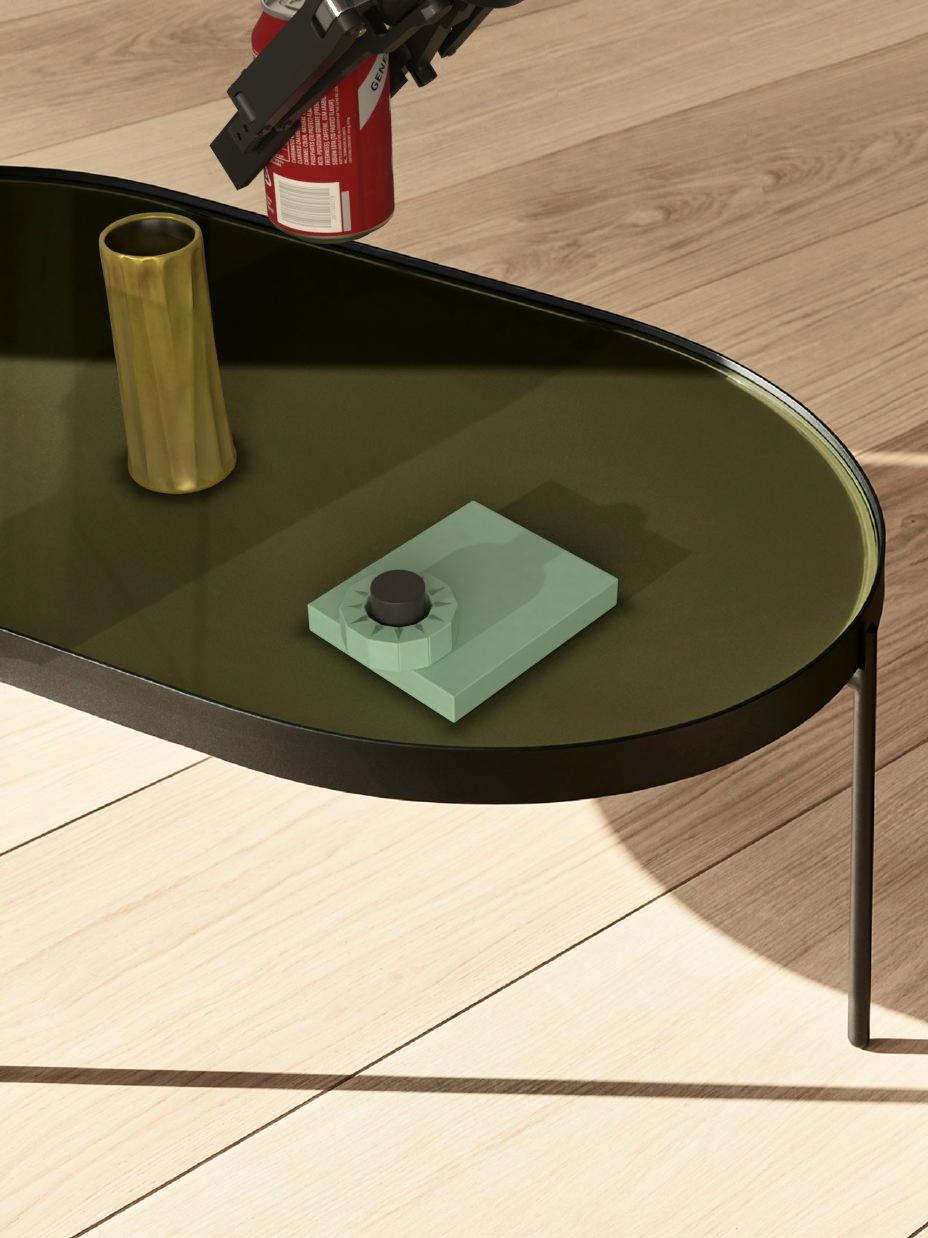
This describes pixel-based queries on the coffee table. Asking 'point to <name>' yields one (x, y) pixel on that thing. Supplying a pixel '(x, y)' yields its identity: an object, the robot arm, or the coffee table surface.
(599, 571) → the scale
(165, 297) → the vase
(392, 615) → the tare button
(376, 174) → the soda can
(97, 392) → the coffee table surface
